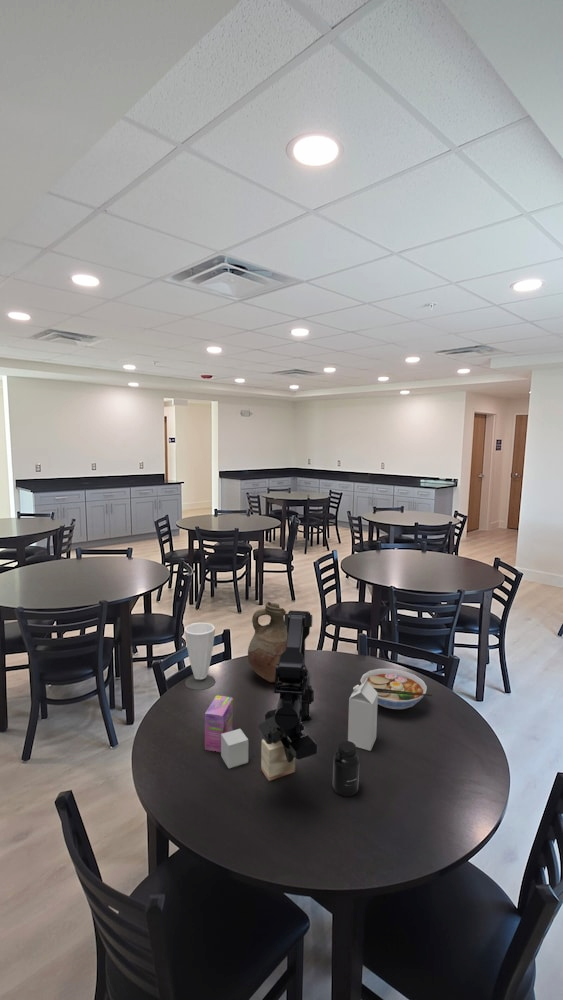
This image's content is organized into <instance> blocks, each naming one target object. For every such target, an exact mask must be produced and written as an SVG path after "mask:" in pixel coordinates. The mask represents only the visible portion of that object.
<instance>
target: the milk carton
mask: <svg viewBox="0 0 563 1000" xmlns="http://www.w3.org/2000/svg"><path fill="white" fill-rule="evenodd" d="M352 689H353V691H352V693H351V695H350V697H349V698H348V724H347V726H348V727H347V741H350V742H352V743H354V744H355V745H356V748H358V749H362V750H365V751H369V752H371V751H372V749H373V746H374V744H375V742H376V739H377V725H378V705H379V704H378V693H377V691H376V690H375V689H374V688H373V687H372V686H371V685H370V684H369V683H368V682H367V679H366V680H365V682H364V683H363V684H360V685H359V684H357V685H354V686H353V688H352Z"/></svg>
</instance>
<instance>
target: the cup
mask: <svg viewBox="0 0 563 1000" xmlns="http://www.w3.org/2000/svg"><path fill="white" fill-rule="evenodd" d="M215 634H216V627H215V625H214V624H212V623H209V622H203V621H202V622H193V623H189V624H188V625H186V626H185V627H184V636H185V644H186V648H187V653H188V659H189V662H190V668H191V671H192V673H193V675H191V676H190V677H189V678H187V679H186V680H185V682H184V685H185V686H186V687H187V688H188V689H190V690H194V691H195V690H196V691H201V690H202V691H203V690H207V689H209V688H212V687H213V686H215V684H216V679H215V678H214V676H212V675H210V674H208V673H209V670H210V665H211V661H212V655H213V649H214V644H215Z"/></svg>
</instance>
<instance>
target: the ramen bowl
mask: <svg viewBox="0 0 563 1000" xmlns="http://www.w3.org/2000/svg"><path fill="white" fill-rule="evenodd" d="M366 679H367V682H368V683H369V684H370V685H371V686H372V687H373V688H374V689H375V690H376V691H377V693H378V704H377V705H379V706H381V707H384V708H387V709H392V710H405V709H408V708H412V707H414V705H416V704H417V703H419V702H420V701H421V700H422V699H423V698H424V697H431V694H429V693H427V688H428V686H427V685H426V683H425V681H424V680H423V679H421V678H420V677H419V676H417V675H415V674H414V673H411V672H408V671H405V670H401V669H397V668H396V669H395V668H377V669H376V668H375V669H371V670H368V671H366V673H364V674H362V676H361V678H360V680H359V681H360V683H361V684H363V683H364V682H365V680H366ZM361 684H360V685H361Z"/></svg>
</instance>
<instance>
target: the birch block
mask: <svg viewBox="0 0 563 1000" xmlns="http://www.w3.org/2000/svg"><path fill="white" fill-rule="evenodd" d="M281 742H282V741H278V742H277V743H275V744H274V743H272V744H267V743H266V741H265V740H264V739H263V738H262V739H261V749H260V750H261V752H260V753H261V754H260V755H261V757H260V758H261V759H260V761H261V765H260V767H261V768H260V769H261V771H262V773H263V774H264V776H265V777H266V779H267V780H268V781H269V782H270V781H273V780H276V779H278V778H281V777H285V776H287V775H290V774H292V773H296V758H295V757H294V759H293V761H292V762H288V761H287V758H286V755H285V751H284V748H283V744H282V743H281Z"/></svg>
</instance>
